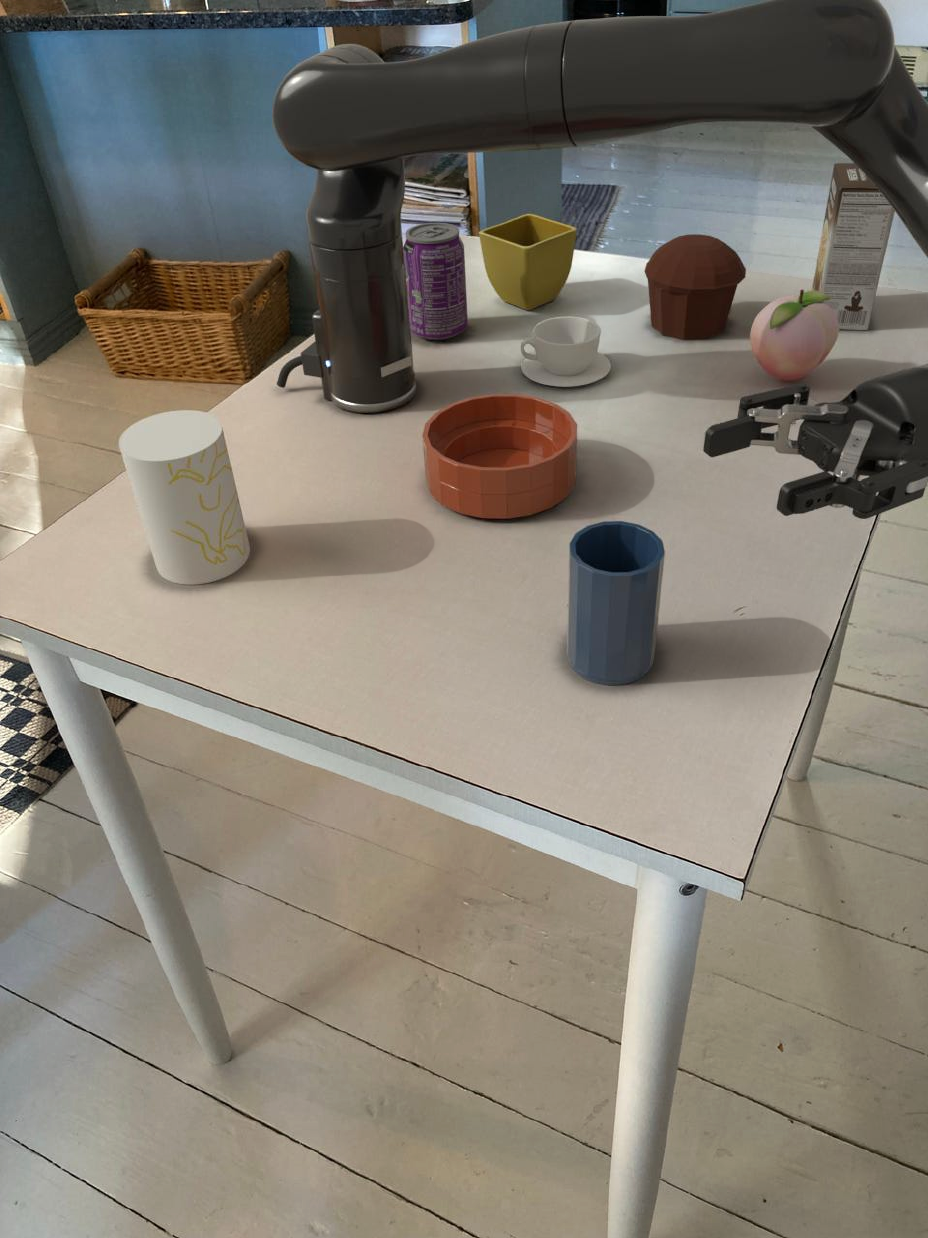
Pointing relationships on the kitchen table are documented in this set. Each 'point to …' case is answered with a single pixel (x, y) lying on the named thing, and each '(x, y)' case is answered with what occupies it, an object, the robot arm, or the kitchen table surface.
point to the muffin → (692, 286)
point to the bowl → (500, 455)
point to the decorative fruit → (794, 334)
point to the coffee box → (852, 246)
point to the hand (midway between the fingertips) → (742, 471)
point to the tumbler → (613, 601)
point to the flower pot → (528, 259)
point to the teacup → (565, 353)
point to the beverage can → (435, 281)
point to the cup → (186, 495)
